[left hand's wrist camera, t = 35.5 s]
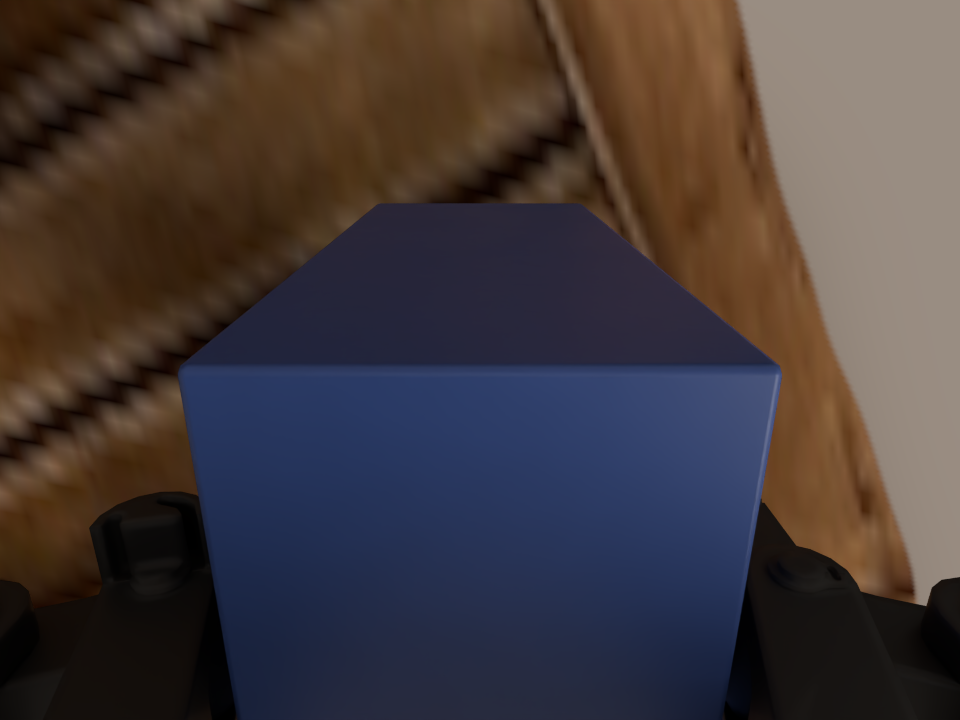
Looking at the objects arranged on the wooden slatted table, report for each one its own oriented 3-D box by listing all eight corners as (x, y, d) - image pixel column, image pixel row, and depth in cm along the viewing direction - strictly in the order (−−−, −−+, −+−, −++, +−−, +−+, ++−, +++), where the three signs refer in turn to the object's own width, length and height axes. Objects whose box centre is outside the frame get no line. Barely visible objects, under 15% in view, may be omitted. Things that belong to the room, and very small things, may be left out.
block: (566, 513, 18) (675, 1010, 8) (393, 513, 18) (283, 1010, 8) (582, 202, 15) (788, 366, 5) (376, 202, 15) (171, 366, 5)
